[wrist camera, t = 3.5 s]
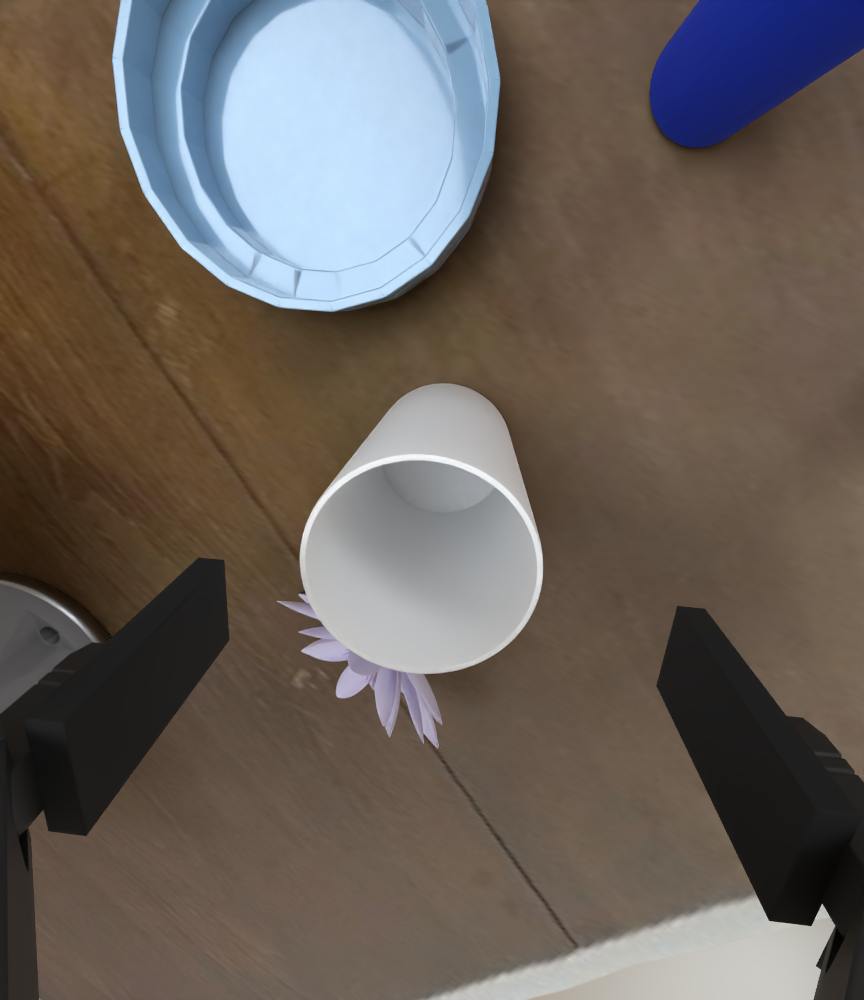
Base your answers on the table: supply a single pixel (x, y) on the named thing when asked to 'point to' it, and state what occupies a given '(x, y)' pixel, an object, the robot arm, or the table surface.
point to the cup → (426, 538)
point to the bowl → (310, 137)
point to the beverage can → (747, 62)
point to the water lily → (374, 680)
